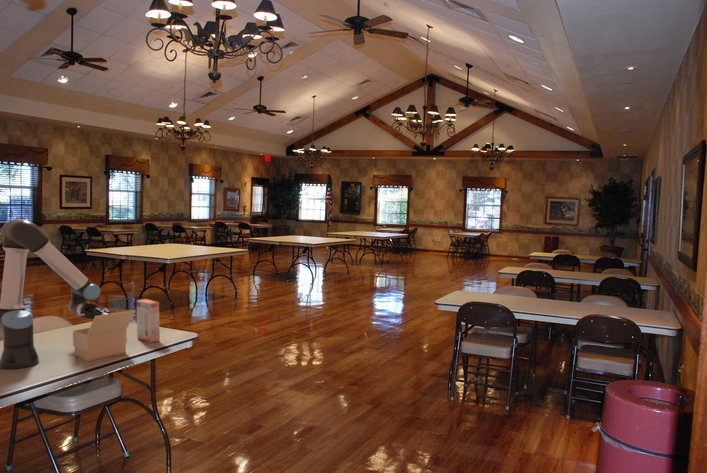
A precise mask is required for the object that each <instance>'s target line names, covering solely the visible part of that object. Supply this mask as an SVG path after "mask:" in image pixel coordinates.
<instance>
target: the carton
mask: <svg viewBox="0 0 707 473" xmlns="http://www.w3.org/2000/svg"><path fill="white" fill-rule="evenodd" d="M89 329H90V327H87V328H81V329H75V330H72V346H73V347H74V357H76V358H79V359H81V360H83V361H85V362H87V363H88V362H93V361H97V360H102V359H106V358H111V357H117V356H120V355H124V354H127V351H126V350H127V347H126V346H127V345H126V344H127V343H128V342H127V340H128V336H127V329H126V330H120V331H115V332H109V333H104V334H99V335H93V336H88V337H87V336H86V335H87V333H88V331H89Z"/></svg>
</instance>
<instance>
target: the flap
mask: <svg viewBox="0 0 707 473" xmlns="http://www.w3.org/2000/svg"><path fill="white" fill-rule="evenodd" d="M135 313H136V309H132V310H131V309H130V310H124V311H118V312H112V313H111V312H110V314H105V315H98V316H95V317H94V319H92V321H91V325H90V327H89V328H90V329H89V331H88V333H87V335H86V336H87V337H88V336H93V335H99V334H104V333H109V332H115V331H120V330H127V329H128V327H129V325H130V324H131V321H132V319H133V317H134V315H135Z"/></svg>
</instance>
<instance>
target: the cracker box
mask: <svg viewBox="0 0 707 473" xmlns="http://www.w3.org/2000/svg"><path fill="white" fill-rule="evenodd" d="M136 330H137V331H136V333H137V335H136V336H137V339H138V340H141V341H143V342H147V343H149V344H152V343H156V342H160V341H161V340H160V302H159V301H156V300H151V299H147V298H143V299H142V298H141V299H138V300H136Z"/></svg>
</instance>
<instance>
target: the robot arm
mask: <svg viewBox="0 0 707 473" xmlns="http://www.w3.org/2000/svg"><path fill="white" fill-rule="evenodd" d="M0 234H1V235H0V236H1V239H2V247H1V248H2V249H3V250H4V251H5V255H4V263H3V264H4V265H3V271H2V272H3V274H2V283H1V284H2V285H1V290H0V291H1V292H0V335H1V336H2V341H3V342H2V343H3V350H2V353H1V356H0V368H1V369H3V368H5V370H13V369H14V370H16V368H17V369H22V368H28V367H31V366H34V365H37V364H38V363H39V361H40V360H39V358H40V357H39V354H38V352H37V350H36V347H35V344H34V341H35V340H34V317H33V313H32V312H31V311H28V310H26V306H25V305H24V304H23V295H24V286H25V276H26V269H27V268H26V266H27V257H28V253H29V252H30V253H31V254H33V255H34V254H36V255H37V256H38V257H39V258H40V259H41V260H42V261H44V263H45V264H46V265H48V266H49V267H50V268H51V269H52V270H53V271H54V272H55V273H56V274H58V275H59V276H60V277H61V278H62V279H63V280H64V281H65V282H67V283H68V285H70V295H71V296H70V298H71V299H70V300H71V301H70V302H69V304H68V310H69V311H70V312H71V313H72V314H73V315H76V316H80V318H85V319H88V320H94V317H95V316H98V315H105V314H111V311H110V310H109V309H108V308H107V307H106V308H103V309H102V308H99V307H98V305H96V304H95V303H92V302H89V301H94V300H96V299H98V298H99V296H101V288H100V287H99V285H97V284H95V283H93V282H92V281H91V280H90V279H89V278H88V277H87V276H86V275H84V273H83V272H81V271H80V269H78V268H77V267H76V266H75V265H74V264H73V263H72V262H71V261H70V260H69V259H68V258H67V257H66V256H64V254H63V253H61V251H59V250H58V249H57V248H56V247H55V246H54V244H52V243H51V239H50V238H49V237H48V236H47V235H46V233H44V232H43V231H42V229H41V228H39V227H38V225H37V224H36V223H34V222H33V221H30V220H25V219H24V220H23V219H12V220H9V221H7V222H6V223H5V224H4V225H2V227H1V230H0Z"/></svg>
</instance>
